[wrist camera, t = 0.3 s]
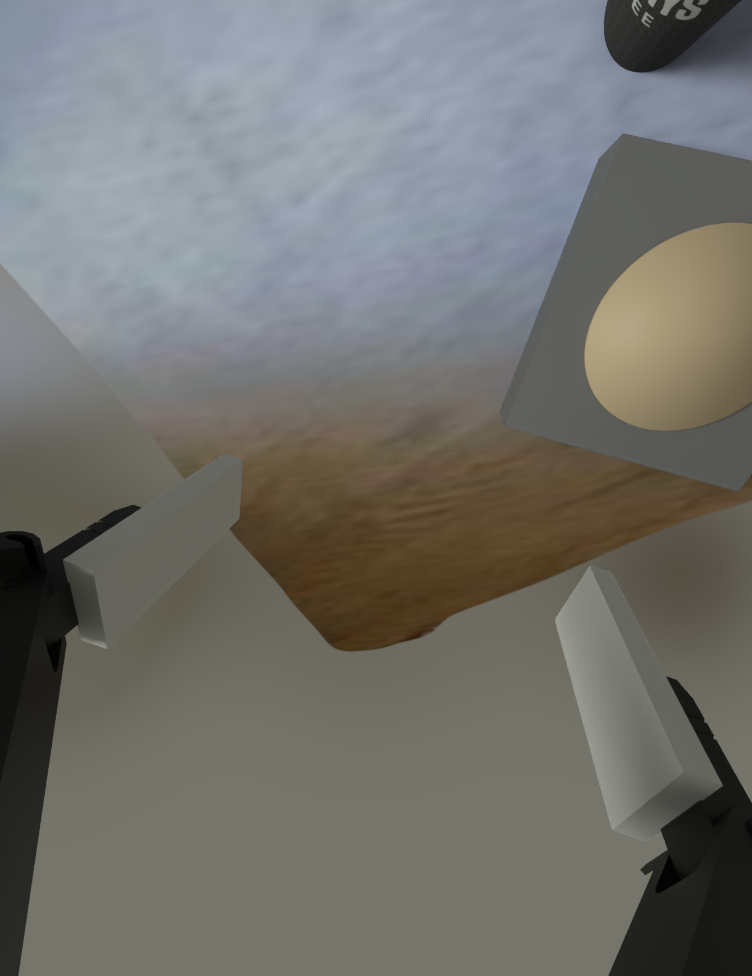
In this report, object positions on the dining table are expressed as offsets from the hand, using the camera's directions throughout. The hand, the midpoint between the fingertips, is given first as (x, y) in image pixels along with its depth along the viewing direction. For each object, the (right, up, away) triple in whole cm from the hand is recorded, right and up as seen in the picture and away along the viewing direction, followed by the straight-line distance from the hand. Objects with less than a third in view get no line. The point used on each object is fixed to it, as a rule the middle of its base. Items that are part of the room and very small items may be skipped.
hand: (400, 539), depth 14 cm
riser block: (+23, +15, +18) cm, 33 cm away
